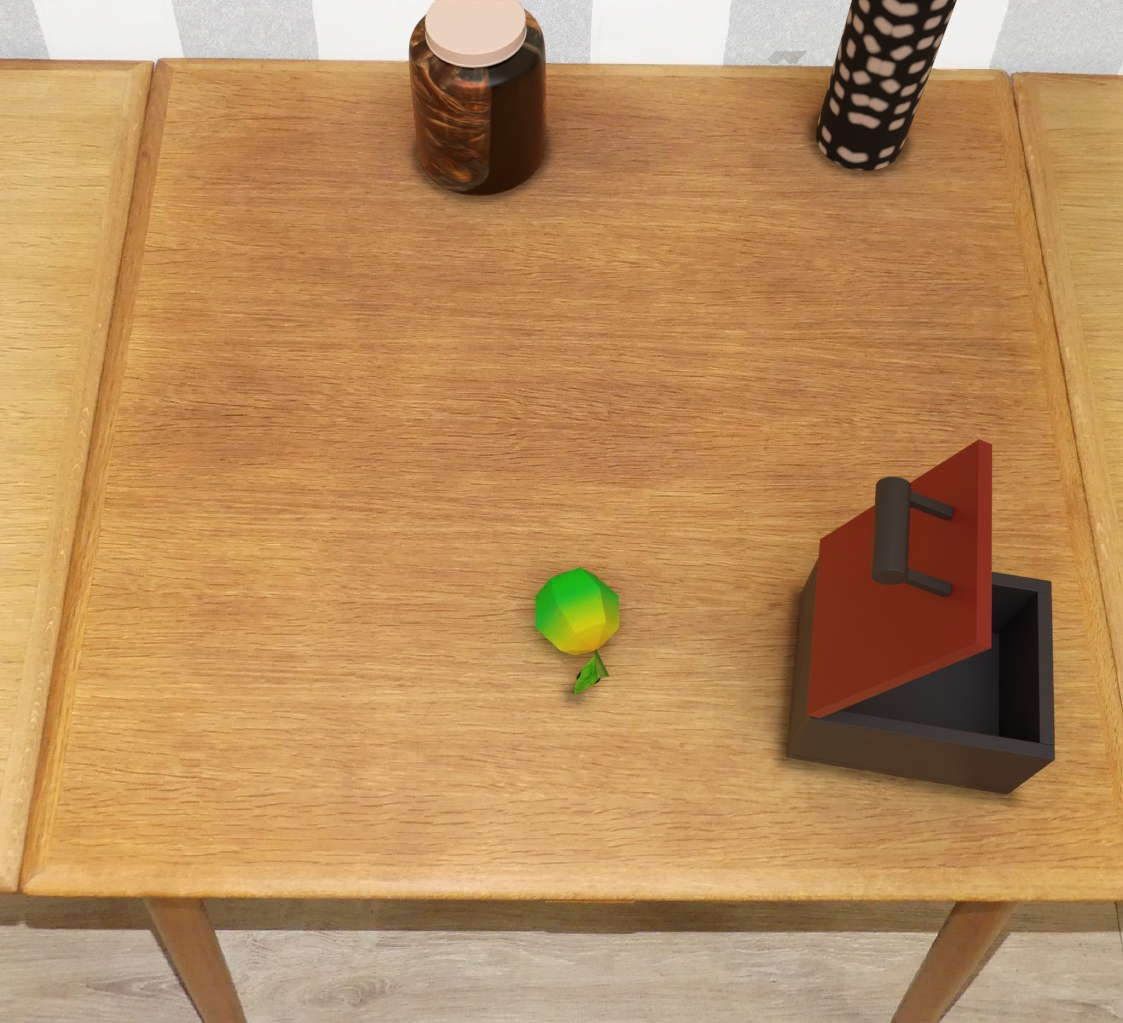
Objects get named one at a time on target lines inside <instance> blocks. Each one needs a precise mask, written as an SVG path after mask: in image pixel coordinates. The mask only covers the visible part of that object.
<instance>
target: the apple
mask: <svg viewBox="0 0 1123 1023" xmlns="http://www.w3.org/2000/svg"><path fill="white" fill-rule="evenodd" d="M534 602H535V604H534V606H535V612H534V613H535V614H534V619H535V620H534V621H535V622H534V627H535V629H536V630H537V631H538V632H539V633H540V634H541V635H543V636H544V637H545V639H547V640H548V641H549V642H550V643H551V644H552V645H553V646H554V647H556V648H557V650H559V651H560V652H563V653H566V654H569V655H572V656H579V655H583V654H586V653H591V652H593V655H594V656H593V657H591V658H590V660H588V662H587V663H585V665H584V666H583V667H582V668H581V669H580V671H579V672H578V674H577V675H576V679H575V685H574V690H573V696H575V695H577V694H579V693H580V692H582V691H584V690H586V689H588V688H590V687H592V686H594V685H596V684H597V683H600V681H601V679H603V678H608V677H609V678H610V674H609V672H608V670H607V668H606V667H605V664H604V662H603V660H602V658H601V656H600V654H599V653H598V649H599V648H601V647H602V646H603V645H604V644H606V643H607V641H609V640H610V638H612V636H613V635H614V634H615V633H616V632H617V631H618V630H619V629H620V628H621V626H620V624H621V623H620V596H619V595H618V594H617V593H616V592H615V591H614V590H613V589H612V588H610V586H608V585H607V584H606V583H605V582H603V581H602V579H600V578H599V577H598V576H597V575H596V574H595V573H593V572H591V571H589V570H587V569H585V568H582V567H581V566H579V567H577V568H573V569H570V570H567V571H564V572H562V573H561V572H560V573H559V574H557V575H554V576H552V577H550V578H549V579H548V580H547V581H546V583H545V584H544V585H543V586H542V587H541V589H540V590H539V591H538V592H537V593H536V594H535V598H534Z"/></svg>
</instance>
